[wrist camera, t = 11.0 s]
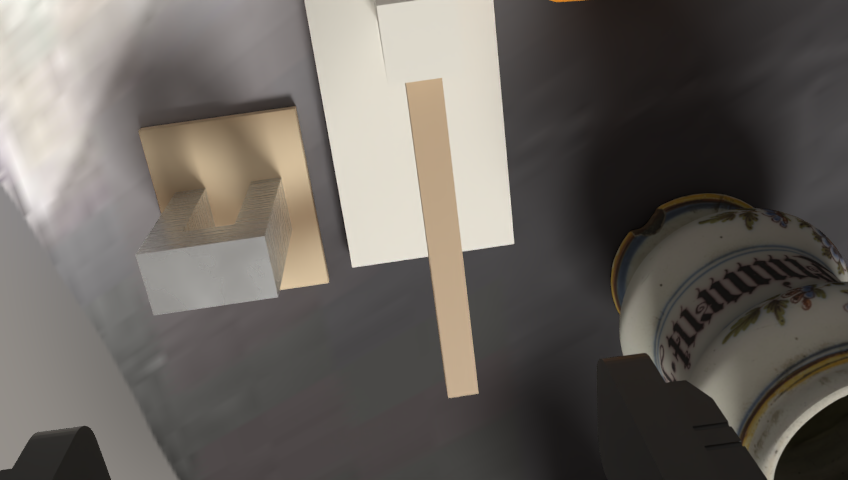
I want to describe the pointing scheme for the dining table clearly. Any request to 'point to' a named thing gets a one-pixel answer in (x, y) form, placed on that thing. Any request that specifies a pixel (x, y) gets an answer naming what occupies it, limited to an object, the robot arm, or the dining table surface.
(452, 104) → the stand
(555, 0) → the bracket
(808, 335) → the apothecary jar
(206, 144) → the cork mat
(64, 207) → the dining table surface
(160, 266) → the c link
